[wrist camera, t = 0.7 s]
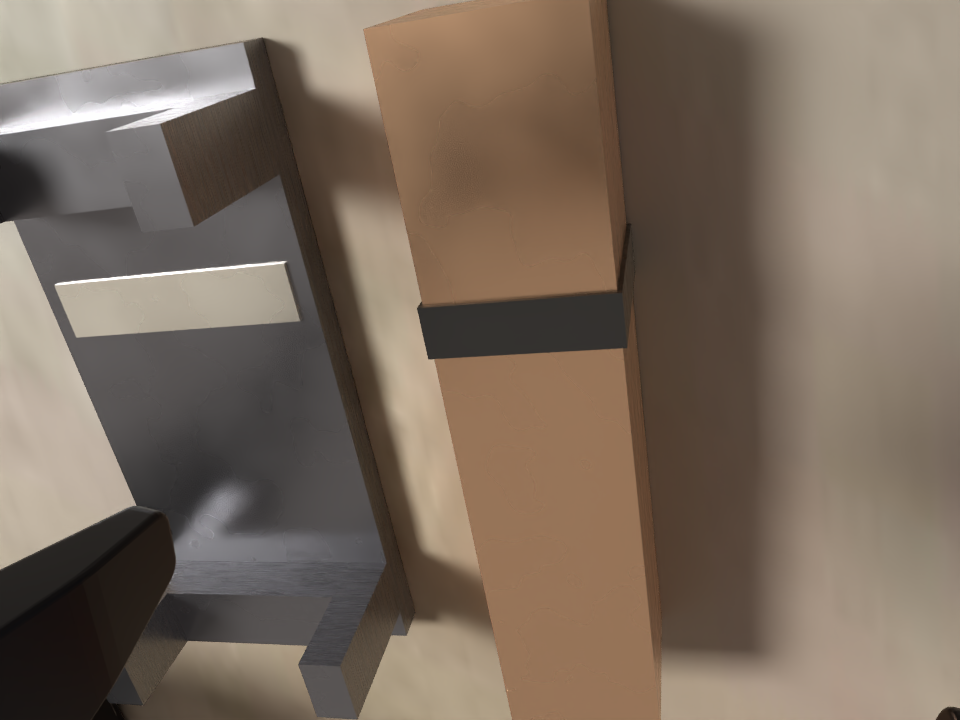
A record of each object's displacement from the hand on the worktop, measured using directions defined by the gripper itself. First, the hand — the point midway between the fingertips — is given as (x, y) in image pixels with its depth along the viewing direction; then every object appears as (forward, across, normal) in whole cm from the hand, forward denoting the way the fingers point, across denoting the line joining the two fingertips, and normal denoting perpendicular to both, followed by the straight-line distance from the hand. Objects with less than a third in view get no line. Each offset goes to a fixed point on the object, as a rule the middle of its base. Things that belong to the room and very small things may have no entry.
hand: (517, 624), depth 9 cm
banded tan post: (+12, +1, +4) cm, 12 cm away
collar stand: (+11, +11, +6) cm, 17 cm away
